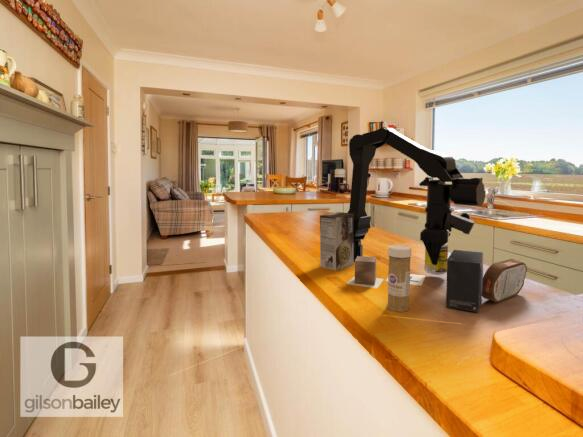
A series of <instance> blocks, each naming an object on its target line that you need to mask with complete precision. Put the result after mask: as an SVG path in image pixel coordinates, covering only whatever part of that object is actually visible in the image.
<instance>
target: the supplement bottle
mask: <svg viewBox="0 0 583 437" xmlns="http://www.w3.org/2000/svg"><path fill="white" fill-rule="evenodd" d="M424 248H425V247H424ZM424 251H425V252H424V272H426V273H428V274H430V275H444V274H447V259H448V258H449V257H448V255H449V253H448V252H449V243H448V242H447V243H446V244H444V245H443V246H442V247H441V251H440V255H439V259H438V263H437V265H433V264H432V262H431V260H430V257H429V255H428V252H427V250H426V248H425V250H424Z"/></svg>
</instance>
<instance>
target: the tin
mask: <svg viewBox="0 0 583 437" xmlns="http://www.w3.org/2000/svg"><path fill="white" fill-rule="evenodd" d="M527 271H528V267H527V264H526V263H525V262H522V261H520V260H518V259H517V260H516V259H514V258H509V259H505V260H501V261H496V262H494V263H492V264H491V265H490V266H488V267H487V269H486V271H484V272H485V273H483V285H482V298H484V299H487V300H489V301H491V302H495V303H500V302H502V301H505V300H508V299H510V298H514V297H516V296H517V295H518V294H519V293H520V292H521V290H523V287H524V285H525V284H524V283H525V279H526V275H527Z"/></svg>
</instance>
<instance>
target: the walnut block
mask: <svg viewBox="0 0 583 437" xmlns="http://www.w3.org/2000/svg"><path fill="white" fill-rule="evenodd" d="M354 276H355V284H366V285H375V281H376V278H377V257H375V256H357V258H356V260H355V261H354Z"/></svg>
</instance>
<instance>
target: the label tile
mask: <svg viewBox="0 0 583 437" xmlns="http://www.w3.org/2000/svg"><path fill="white" fill-rule="evenodd" d="M425 279H426V275H423V274H414V273H410V286H418V287H419V286H420V287H421V286H423V283H424V281H425ZM384 281H385V282H388V277H387V278H386V279H384Z"/></svg>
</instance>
